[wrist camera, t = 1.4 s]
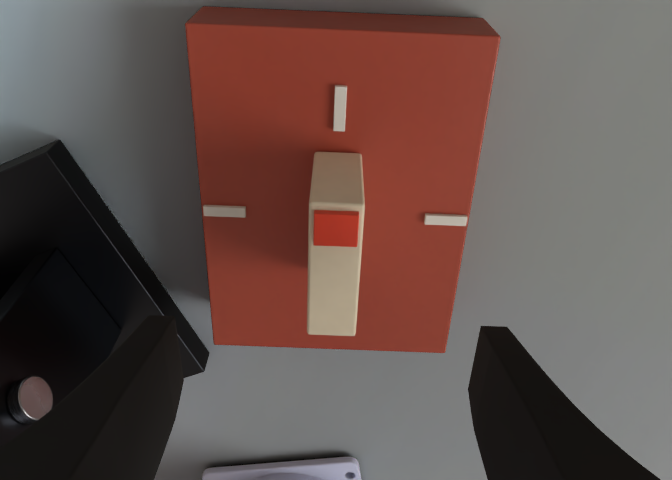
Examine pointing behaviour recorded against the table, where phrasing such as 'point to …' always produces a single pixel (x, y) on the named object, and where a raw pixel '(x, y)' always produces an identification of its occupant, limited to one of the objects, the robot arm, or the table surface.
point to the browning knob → (335, 243)
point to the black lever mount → (67, 287)
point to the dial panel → (344, 137)
